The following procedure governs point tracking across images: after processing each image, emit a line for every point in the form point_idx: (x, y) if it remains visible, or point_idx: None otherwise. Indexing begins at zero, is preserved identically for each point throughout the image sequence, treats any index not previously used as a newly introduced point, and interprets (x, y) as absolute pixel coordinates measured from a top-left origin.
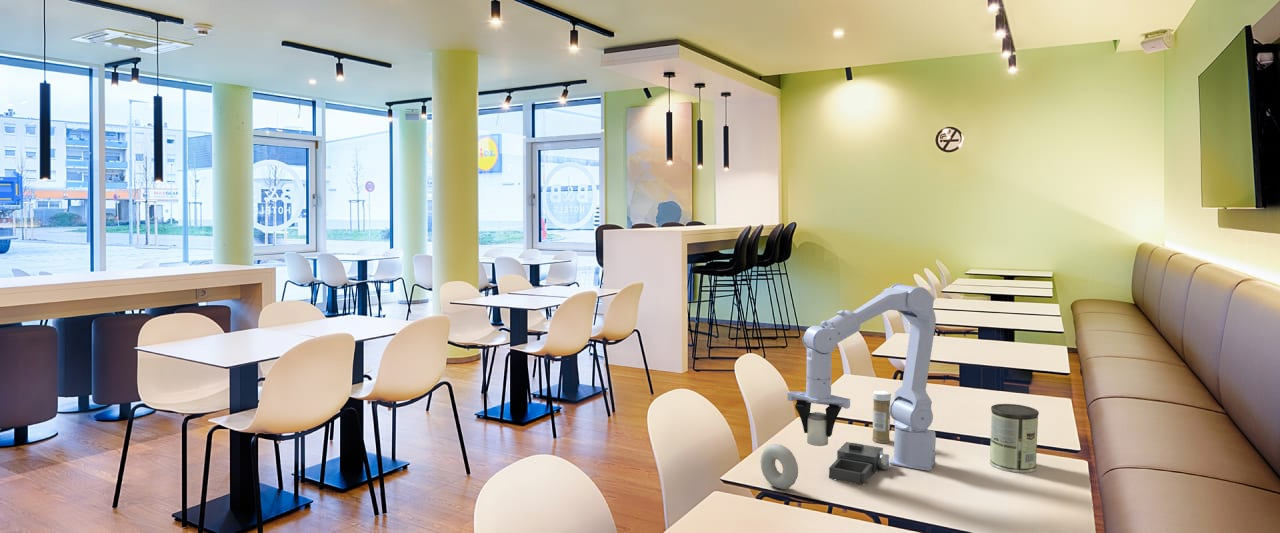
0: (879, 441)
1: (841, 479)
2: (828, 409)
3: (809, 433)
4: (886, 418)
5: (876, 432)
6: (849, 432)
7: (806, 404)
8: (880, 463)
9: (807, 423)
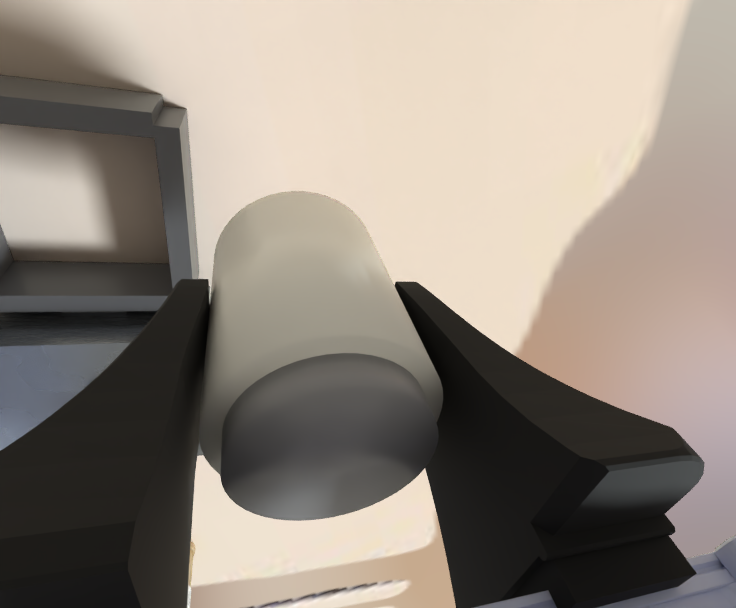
0: None
1: (91, 88)
2: (34, 567)
3: (370, 254)
4: None
5: None
6: (280, 547)
7: (539, 548)
8: None
9: None
